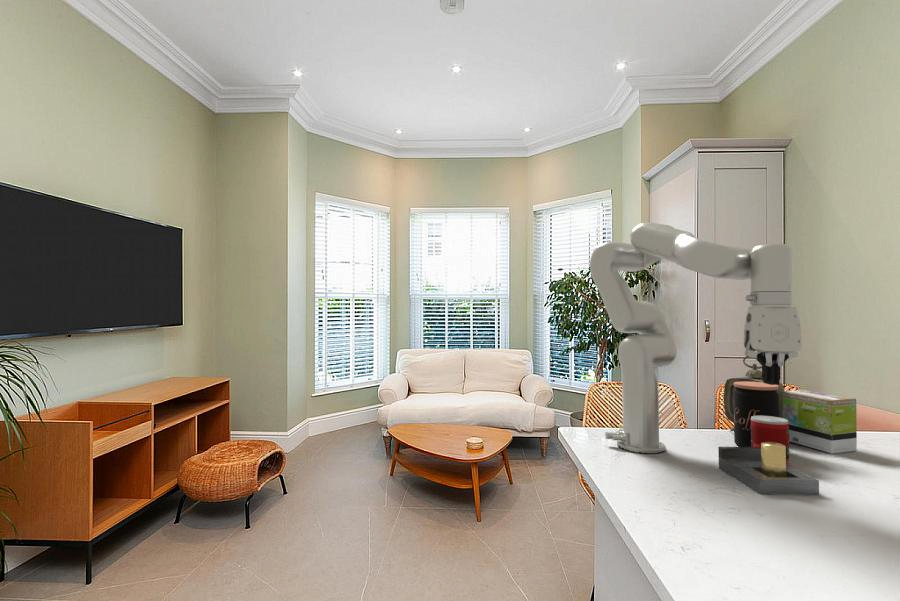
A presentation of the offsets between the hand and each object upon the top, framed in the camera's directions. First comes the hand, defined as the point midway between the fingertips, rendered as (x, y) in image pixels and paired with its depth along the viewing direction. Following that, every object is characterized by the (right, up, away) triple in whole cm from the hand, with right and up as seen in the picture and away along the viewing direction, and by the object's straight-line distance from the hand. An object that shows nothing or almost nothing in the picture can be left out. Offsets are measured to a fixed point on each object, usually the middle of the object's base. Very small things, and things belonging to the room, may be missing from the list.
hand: (771, 383), depth 103 cm
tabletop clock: (+24, -24, +41) cm, 53 cm away
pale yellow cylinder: (0, -22, -1) cm, 22 cm away
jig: (0, -22, +2) cm, 22 cm away
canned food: (+11, -23, +16) cm, 30 cm away
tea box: (+34, -23, +31) cm, 52 cm away
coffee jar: (+15, -23, +28) cm, 39 cm away
